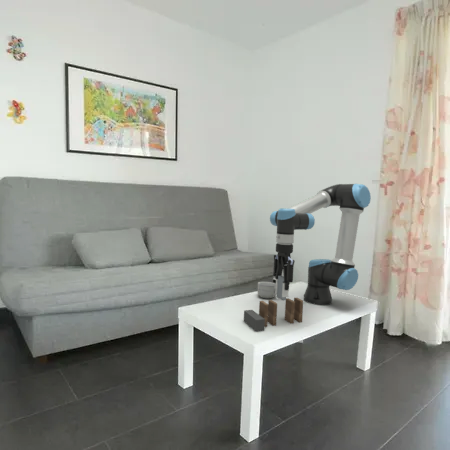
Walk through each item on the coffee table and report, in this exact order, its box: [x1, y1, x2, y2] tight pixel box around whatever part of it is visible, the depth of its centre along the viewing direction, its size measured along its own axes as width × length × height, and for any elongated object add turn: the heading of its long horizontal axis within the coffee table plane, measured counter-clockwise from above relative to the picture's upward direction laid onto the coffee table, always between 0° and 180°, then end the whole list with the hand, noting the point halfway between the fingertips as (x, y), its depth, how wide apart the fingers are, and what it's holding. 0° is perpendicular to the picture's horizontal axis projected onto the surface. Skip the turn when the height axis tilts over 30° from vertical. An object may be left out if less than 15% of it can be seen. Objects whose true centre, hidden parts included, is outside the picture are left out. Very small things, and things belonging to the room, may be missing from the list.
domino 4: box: [284, 297, 295, 324], centre depth 152 cm, size 2×5×10 cm, turn 22°
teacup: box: [257, 281, 277, 300], centre depth 187 cm, size 14×11×8 cm
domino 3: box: [276, 275, 287, 301], centre depth 149 cm, size 2×5×10 cm, turn 22°
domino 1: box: [258, 300, 268, 328], centre depth 147 cm, size 2×5×10 cm, turn 22°
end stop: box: [243, 309, 266, 333], centre depth 146 cm, size 4×12×5 cm, turn 22°
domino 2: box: [267, 299, 278, 327], centre depth 149 cm, size 2×5×10 cm, turn 22°
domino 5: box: [293, 297, 304, 323], centre depth 154 cm, size 2×5×10 cm, turn 22°
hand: (281, 294), depth 150 cm, fingers closed on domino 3, 5 cm apart
